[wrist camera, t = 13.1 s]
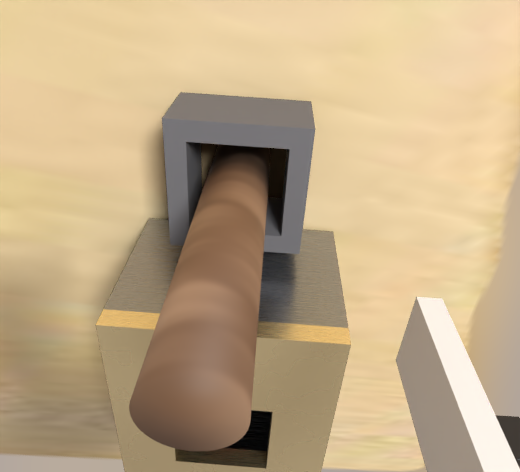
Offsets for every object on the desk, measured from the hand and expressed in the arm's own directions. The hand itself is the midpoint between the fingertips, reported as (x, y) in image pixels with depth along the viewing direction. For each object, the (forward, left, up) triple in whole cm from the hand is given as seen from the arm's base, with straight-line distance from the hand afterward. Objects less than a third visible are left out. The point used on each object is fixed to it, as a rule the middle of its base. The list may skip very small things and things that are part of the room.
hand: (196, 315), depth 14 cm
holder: (0, 0, -13) cm, 13 cm away
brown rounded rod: (0, 0, -13) cm, 13 cm away
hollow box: (0, -12, -13) cm, 17 cm away
